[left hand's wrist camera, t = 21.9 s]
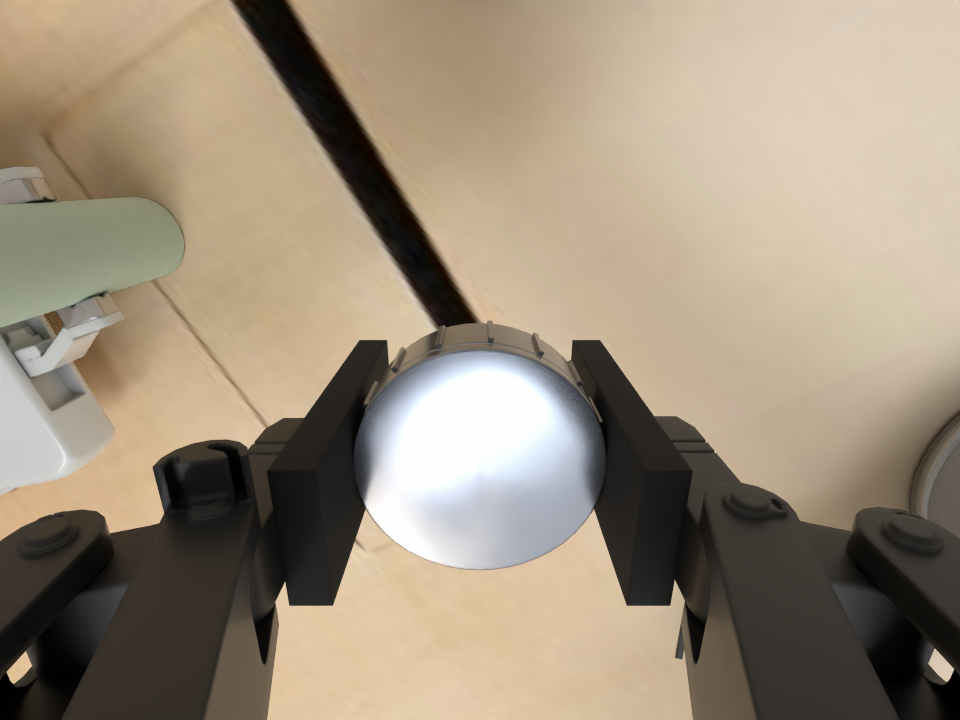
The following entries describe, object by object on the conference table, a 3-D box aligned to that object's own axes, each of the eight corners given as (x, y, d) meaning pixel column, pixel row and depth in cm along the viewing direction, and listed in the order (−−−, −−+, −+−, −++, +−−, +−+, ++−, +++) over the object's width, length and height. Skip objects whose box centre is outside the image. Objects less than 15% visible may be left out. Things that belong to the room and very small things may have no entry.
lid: (638, 412, 12) (664, 451, 10) (495, 555, 13) (498, 609, 12) (459, 271, 11) (456, 289, 9) (324, 444, 12) (299, 487, 10)
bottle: (123, 283, 30) (-193, 378, 16) (90, 204, 29) (-292, 233, 15) (196, 270, 30) (-61, 355, 16) (166, 190, 28) (-147, 203, 14)
